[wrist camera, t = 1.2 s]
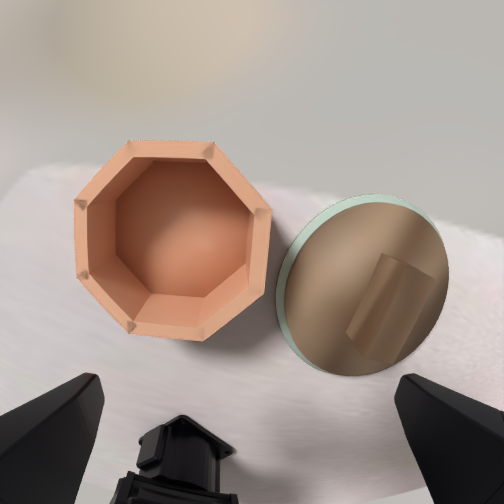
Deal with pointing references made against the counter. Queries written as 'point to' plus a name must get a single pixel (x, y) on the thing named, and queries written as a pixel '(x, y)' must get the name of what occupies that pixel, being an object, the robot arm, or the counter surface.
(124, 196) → the terracotta bowl
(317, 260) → the walnut lid
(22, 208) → the counter surface
